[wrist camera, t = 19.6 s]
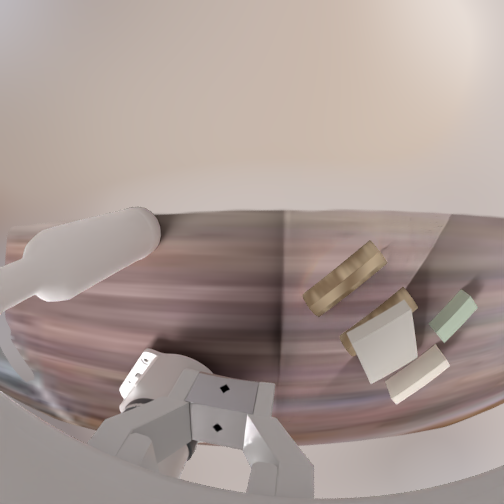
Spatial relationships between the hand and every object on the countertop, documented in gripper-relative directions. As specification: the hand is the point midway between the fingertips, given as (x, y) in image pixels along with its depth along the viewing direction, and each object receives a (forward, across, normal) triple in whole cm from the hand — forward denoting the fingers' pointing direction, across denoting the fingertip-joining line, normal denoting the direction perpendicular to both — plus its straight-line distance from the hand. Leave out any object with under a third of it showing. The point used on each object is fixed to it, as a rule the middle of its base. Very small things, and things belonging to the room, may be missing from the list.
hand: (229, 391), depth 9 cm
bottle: (+33, +21, +3) cm, 40 cm away
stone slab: (+30, -18, +14) cm, 37 cm away
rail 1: (+33, -10, +5) cm, 35 cm away
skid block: (+33, -30, +10) cm, 46 cm away
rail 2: (+33, -17, +11) cm, 38 cm away
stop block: (+33, -27, +20) cm, 47 cm away
